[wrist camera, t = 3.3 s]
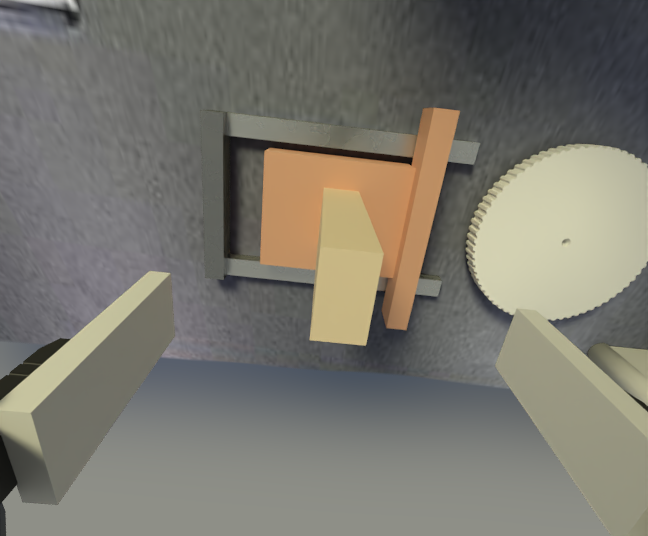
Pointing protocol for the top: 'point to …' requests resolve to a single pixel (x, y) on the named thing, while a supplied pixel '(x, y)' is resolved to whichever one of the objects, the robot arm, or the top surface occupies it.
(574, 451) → the robot arm
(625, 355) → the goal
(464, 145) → the rail track
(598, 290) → the plastic lid
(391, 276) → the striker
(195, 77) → the top surface
